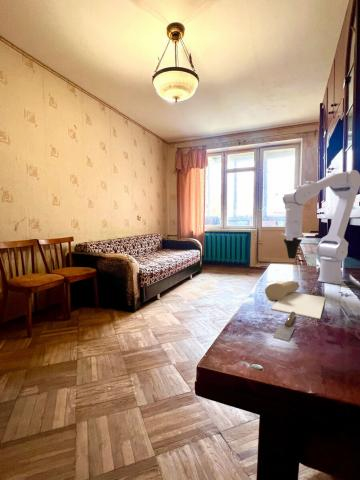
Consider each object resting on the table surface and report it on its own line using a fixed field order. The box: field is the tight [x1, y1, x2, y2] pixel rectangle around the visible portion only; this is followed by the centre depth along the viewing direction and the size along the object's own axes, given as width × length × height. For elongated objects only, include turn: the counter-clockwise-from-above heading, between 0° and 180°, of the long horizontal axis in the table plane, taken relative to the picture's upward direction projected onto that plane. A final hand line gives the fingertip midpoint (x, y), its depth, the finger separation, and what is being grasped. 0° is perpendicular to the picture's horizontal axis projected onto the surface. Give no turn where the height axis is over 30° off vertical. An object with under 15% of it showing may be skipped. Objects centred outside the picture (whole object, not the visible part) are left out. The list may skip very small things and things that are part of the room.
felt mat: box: [270, 291, 326, 320], centre depth 74 cm, size 20×12×1 cm, turn 146°
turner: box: [273, 312, 297, 342], centre depth 58 cm, size 15×3×1 cm, turn 146°
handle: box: [264, 280, 300, 301], centre depth 81 cm, size 5×6×15 cm
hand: (291, 258), depth 93 cm, fingers closed
